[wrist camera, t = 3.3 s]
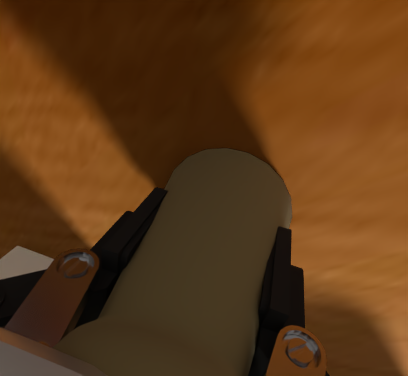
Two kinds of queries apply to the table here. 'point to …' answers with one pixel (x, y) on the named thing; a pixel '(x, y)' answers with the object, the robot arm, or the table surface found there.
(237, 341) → the cork
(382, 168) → the table surface
